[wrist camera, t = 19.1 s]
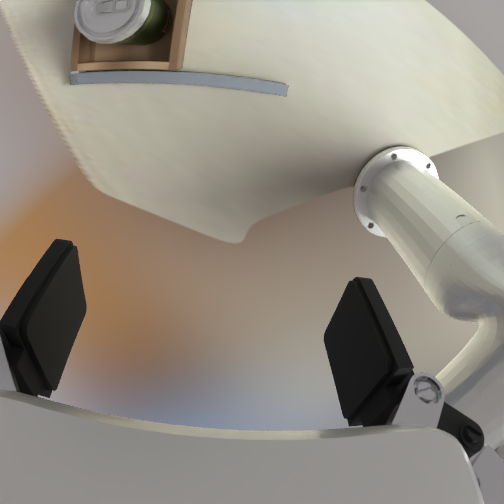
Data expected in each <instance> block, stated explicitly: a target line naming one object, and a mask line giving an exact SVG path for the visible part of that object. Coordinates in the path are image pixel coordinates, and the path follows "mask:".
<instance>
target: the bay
mask: <svg viewBox="0 0 504 504" xmlns="http://www.w3.org/2000/svg"><path fill="white" fill-rule="evenodd" d="M74 26H75V24H74ZM73 35H74V32H73ZM72 45H73V42H72ZM71 57H72V53H71ZM93 83H166V84H185V85H199V86H211V87H221V88H230V89H239V90H247V91H254V92H261V93H268V94H274V95H280V96H287V90H288V85H287V84H285V83H280V82H274V81H267V80H261V79H254V78H247V77H239V76H231V75H222V74H212V73H200V72H185V71H165V70H106V71H72V72H71V67H70V85H75V84H93Z"/></svg>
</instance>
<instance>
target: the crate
mask: <svg viewBox="0 0 504 504" xmlns="http://www.w3.org/2000/svg"><path fill="white" fill-rule="evenodd" d="M164 1H165V2H166V3H167V4H168V6H169V8H170V9H171V12H172V22H171V26H170V28H169V30H168V31H167V33H166V34H165V35H164V36H163V37H162V38H161V39H160V40H158V41H156V42H154V43H152V44H149V45H144V46H140V45H124V44H99V43H96V42H93V41H91V40H89V39H88V38H87V37H85V36H84V35H83V34H82V33H81V32H79V30H78V28H77V26H76V24H75V26H74V35H73V45H72V57H71V72H72V71H86V70H105V69H167V70H177V69H180V68H182V67H183V59H184V52H185V45H186V38H187V31H188V25H189V19H190V12H191V7H192V1H193V0H164Z"/></svg>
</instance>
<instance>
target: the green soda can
mask: <svg viewBox="0 0 504 504" xmlns="http://www.w3.org/2000/svg"><path fill="white" fill-rule="evenodd" d="M74 20H75V24H76V26H77V28H78V30H79V32H81V33H82V34H83V35H84V36H85V37H87V38H88V39H89V40H91V41H93V42H96V43H99V44H124V45H140V46H144V45H149V44H152V43H154V42H156V41H158V40H160V39H161V38H162V37H163V36H164V35H165V34H166V33H167V31H168V30H169V28H170V26H171V22H172V12H171V9H170V8H169V6H168V4H167V3H166V2H165V1H164V0H77V2H76V5H75V9H74Z"/></svg>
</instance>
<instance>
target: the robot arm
mask: <svg viewBox="0 0 504 504" xmlns="http://www.w3.org/2000/svg"><path fill="white" fill-rule="evenodd" d="M353 206H354V210H355V213H356V216H357V218H358V220H359V221H360V222H361V224H362V225H363V226H364V227H365V229H367V230H368V231H369V232H371V233H372V234H374V235H378V236H381V237H387V238H388V240H389V241H390V242H391V244H392V245H393V246H394V248H395V249H396V250H397V252H398V253H399V255H400V256H401V257H402V259H403V260H404V261H405V263H406V264H407V266H408V267H409V269H411V271H412V273H413V274H414V276H415V277H416V278H417V280H418V281H419V283H420V284H421V286H422V287H423V289H424V290H425V292H426V293H427V295H428V296H429V298H430V299H431V300H432V302H433V303H434V305H435V306H436V307H437V308H438V309H439V310H440V311H441V312H442V313H443V314H445V315H446V316H448V317H450V318H453V319H455V320H459V321H467V322H479V328H478V330H477V332H476V333H475V335H474V336H473V337H472V338H471V340H470V341H469V342H468V343H467V345H466V346H465V347H464V348H463V349H462V350H461V351H460V353H458V355H457V356H456V357H455V358H454V359H453V360H452V361H451V362H450V363H449V364H448V365H447V366H446V367H445V368H444V369H443V370H442V371H441V372H440V373H439V374H438V375H437V376H436V377H434V376H432V375H430V374H428V373H423V372H420V373H416V374H414V372H413V370H412V369H413V368H414V366H413V364H412V362H411V360H410V357H409V355H408V353H407V351H406V348H405V346H404V344H403V342H402V340H401V337H400V335H399V333H398V331H397V329H396V327H395V325H394V323H393V321H392V319H391V316H390V315H389V313H388V310H387V309H386V306H385V304H384V302H383V300H382V298H381V296H380V294H379V292H378V290H377V288H376V286H375V284H374V282H373V281H372V279H370V278H361V277H356V278H354V279H353V281H349V283H348V284H347V287H346V289H345V291H344V293H343V295H342V298H341V300H340V302H339V304H338V306H337V308H336V310H335V312H334V314H333V317H332V319H331V321H330V323H329V325H328V327H327V329H326V331H325V334H324V343H325V347H326V351H327V354H328V358H329V362H330V366H331V370H332V374H333V377H334V382H335V386H336V389H337V393H338V398H339V402H340V405H341V410H342V414H343V416H344V418H346V419H347V420H348V424H349V426H359V425H363V427H360V428H345V429H329V430H308V431H250V430H228V429H212V428H201V427H190V426H181V425H172V424H165V423H157V422H150V421H144V420H137V419H131V418H126V417H120V416H115V415H110V414H105V413H100V412H96V411H91V410H87V409H82V408H78V407H74V406H70V405H66V404H61V403H58V402H54V401H50V400H46V399H43V398H39V397H37V396H38V395H41V396H45V397H48V398H50V395H51V393H52V390H54V391H55V390H56V389H57V387H58V384H59V381H60V379H61V376H62V373H63V370H64V367H65V365H66V362H67V359H68V357H69V354H70V351H71V348H72V346H73V343H74V341H75V338H76V336H77V333H78V331H79V328H80V326H81V324H82V321H83V319H84V316H85V314H86V300H85V295H84V289H83V284H82V277H81V271H80V264H79V258H78V250H77V247H76V246H73V243H72V241H68V240H61V239H56V240H54V242H53V243H52V244H51V246H50V247H49V249H48V250H47V251H46V252H45V254H44V255H43V257H42V258H41V259H40V261H39V262H38V264H37V265H36V266H35V268H34V269H33V271H32V272H31V274H30V275H29V277H28V278H27V279H26V280H25V282H24V283H23V285H22V286H21V288H20V290H19V291H18V293H17V294H16V296H15V297H14V299H13V301H12V302H11V304H10V305H9V307H8V309H7V310H6V312H5V314H4V315H3V317H2V319H1V320H0V504H504V235H503V234H502V233H501V232H500V231H499V230H498V229H497V228H496V227H495V226H494V225H492V224H491V223H490V222H489V221H488V220H487V219H486V218H485V217H484V216H482V215H481V214H480V213H479V212H478V211H477V210H476V209H474V208H473V207H472V206H471V205H470V204H469V203H467V202H466V201H465V200H464V199H463V198H461V197H460V196H459V195H458V194H456V193H455V192H454V191H453V190H451V189H450V188H449V187H448V186H446V185H445V184H444V183H443V182H441V181H440V180H439V179H438V174H437V170H436V169H435V166H434V164H433V162H432V161H431V160H430V159H429V158H428V157H427V156H426V155H425V154H423V153H422V152H420V151H418V150H417V149H414V148H411V147H405V146H398V147H392V148H389V149H387V150H384V151H382V152H380V153H379V154H377V155H376V156H374V157H373V158H372V159H371V160H370V161H369V162H368V163H367V164H366V165H365V167H364V168H363V169H362V171H361V173H360V175H359V176H358V178H357V181H356V184H355V187H354V193H353Z"/></svg>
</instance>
